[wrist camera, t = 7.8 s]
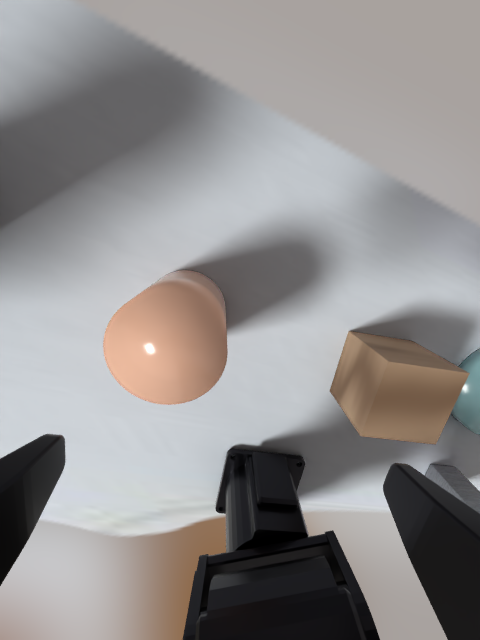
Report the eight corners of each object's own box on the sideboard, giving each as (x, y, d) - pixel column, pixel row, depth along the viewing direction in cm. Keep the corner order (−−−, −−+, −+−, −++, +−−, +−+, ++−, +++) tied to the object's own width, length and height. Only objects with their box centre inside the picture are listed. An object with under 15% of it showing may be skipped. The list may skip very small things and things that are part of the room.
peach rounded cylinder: (219, 349, 19) (217, 410, 13) (144, 339, 19) (101, 397, 12) (231, 277, 18) (236, 302, 11) (150, 264, 17) (104, 282, 10)
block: (388, 398, 21) (435, 444, 17) (329, 390, 21) (360, 436, 16) (411, 340, 20) (469, 373, 15) (348, 330, 20) (388, 361, 15)
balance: (493, 497, 26) (585, 586, 19) (361, 484, 24) (413, 577, 17) (511, 467, 24) (615, 551, 18) (375, 452, 23) (435, 537, 16)
